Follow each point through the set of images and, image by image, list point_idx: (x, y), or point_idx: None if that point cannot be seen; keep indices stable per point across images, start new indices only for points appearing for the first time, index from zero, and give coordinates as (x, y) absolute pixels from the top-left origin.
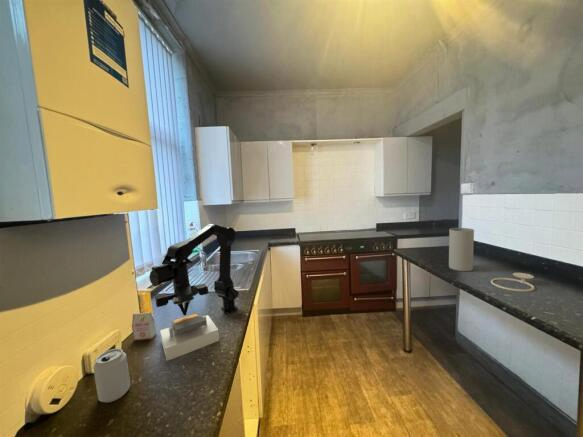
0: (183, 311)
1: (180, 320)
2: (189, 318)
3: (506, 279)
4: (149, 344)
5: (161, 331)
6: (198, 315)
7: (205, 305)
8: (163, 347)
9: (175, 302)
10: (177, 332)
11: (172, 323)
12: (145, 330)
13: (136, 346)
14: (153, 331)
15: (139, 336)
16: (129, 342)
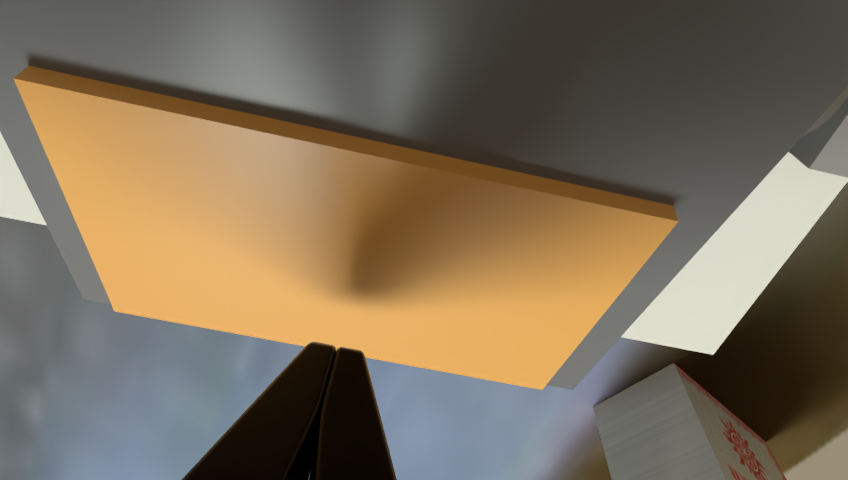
0: (347, 450)
1: (487, 264)
2: (285, 153)
3: None
4: None
5: (728, 316)
6: (43, 170)
7: (59, 477)
8: None
9: None
10: None
11: (641, 304)
12: (742, 475)
13: (834, 350)
14: (641, 428)
15: (751, 447)
16: (805, 439)
